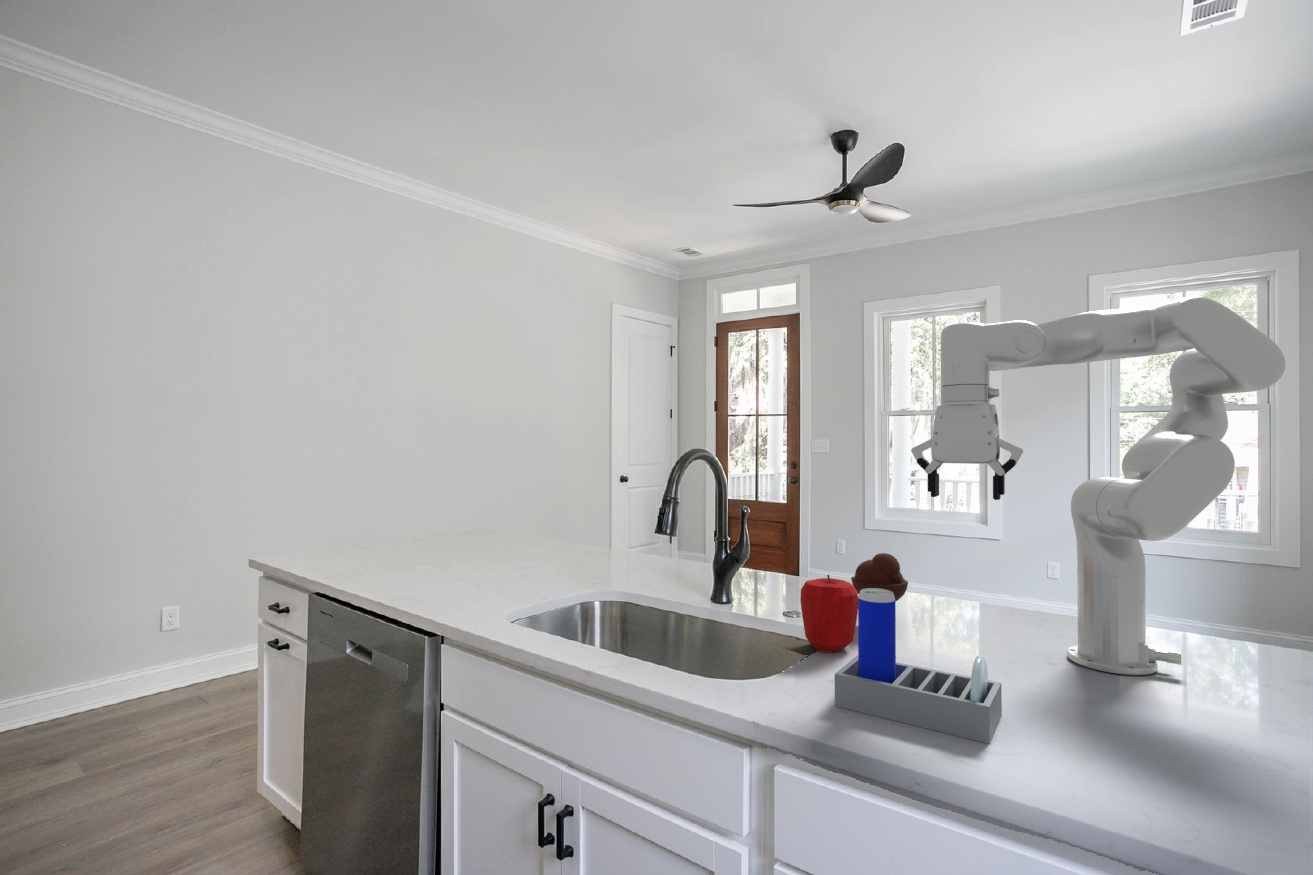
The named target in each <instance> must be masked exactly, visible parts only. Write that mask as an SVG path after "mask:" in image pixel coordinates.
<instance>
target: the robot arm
mask: <svg viewBox="0 0 1313 875" xmlns="http://www.w3.org/2000/svg"><path fill="white" fill-rule="evenodd" d="M1183 351H1185V352H1183ZM1176 352H1183V353H1181V354H1179V355H1178V356H1177V357H1176V359H1175V360H1174V361H1172V364H1171V366H1170V368H1169V369H1170V370H1169V382H1170V387H1171V391H1172V392H1171V393H1172V402H1171V403H1172V404H1171V407H1170V409H1169V411H1168V412H1167V413H1166V414H1165V415H1164V416H1163V417H1162V418H1161V420H1159V421H1158V422H1157V423H1156V424H1155V425H1154V426H1153V427H1152V428H1151V429H1150V430H1149V431H1147V432H1146V433H1145V434H1144V435H1143V436H1142V437H1141V438H1140V439H1139V440H1138V441H1136V443H1134V444H1133V445H1132V446H1131V447H1130V448H1129V449H1128V450H1127V452H1126V453H1125V455H1124V456H1123V458H1122V462H1121V470H1122V474H1123V475H1124V478H1123V477H1111V476H1101V477H1099V476H1098V477H1095V478H1091V479H1087V480H1086V481H1084V482H1082V483H1081V484H1079V485H1078V486H1077V487H1076V489H1075V490H1074V492H1073V494H1072V495H1071V501H1070V513H1071V514H1070V515H1071V518H1072V524H1073V528H1074V533H1075V539H1076V540H1075V541H1076V555H1077V556H1076V558H1077V563H1076V564H1077V568H1076V569H1077V573H1076V575H1077V576H1076V578H1077V580H1076V581H1077V582H1076V583H1077V585H1076V586H1077V587H1076V588H1077V592H1076V593H1077V603H1076V604H1077V644H1075V645H1072V646H1070V647H1068V648H1067V652H1066V655H1067V658H1068V659H1069V660H1070V661H1072V662H1074V663H1076V664H1078V665H1081V666H1083V667H1086V668H1090V669H1092V670H1097V671H1101V672H1105V673H1109V674H1110V673H1111V674H1117V675H1126V676H1146V675H1152V674H1155V673H1156V672H1157V671H1158V670H1159V669H1158V662H1157V661H1159V662H1166V663H1168V664H1174V665H1179V666H1182V653H1181V652H1180V651H1179V652H1178V651H1173V650H1171V648H1165V647H1157V646H1153V644H1149V639H1148V637H1147V636H1146V635H1147V634H1146V630H1147V629H1146V628H1147V624H1146V621H1147V620H1146V559H1145V554H1144V550H1143V547H1142V545H1141V542H1140V540H1141V541H1148V542H1159V541H1164V540H1166V539H1167V540H1168V539H1169V538H1171V537H1174V536H1175V535H1176V534H1178V533H1180V531H1182V530H1183V529H1184V528H1185V527H1186V526H1187V525H1189V524H1190V523H1191V522H1192V521H1193V520H1194V519H1196V518H1197V516H1199V515H1200V514H1201V513H1202V512H1203V511H1204V510H1205V509H1206V508H1207V507H1208V506H1209V505H1210V504H1211V503H1212V502H1213V501H1215V500H1216V499H1217V498H1218V497H1219V496H1220V495H1221V494H1223V492H1224V491H1225V490H1226V488H1228V486H1229V484H1230V482H1231V480H1232V478H1233V476H1234V474H1235V468H1236V466H1235V463H1236V462H1235V458H1234V454H1233V452H1232V450H1231V449H1230V447H1229V446H1228V445H1227V444H1226V443H1225V442H1223V441H1222V439H1223V438H1224V437H1225V435H1226V434H1227V431H1228V428H1229V419H1228V413H1227V410H1226V409H1227V408H1226V405H1225V400H1224V396H1223V395H1227V394H1238V393H1239V394H1240V393H1251V392H1258V391H1262V390H1265V389H1268V388H1270V387H1273V386H1274V385H1275V384H1276V383H1278V381H1279V380H1281V378H1282V377H1283V375H1284V374H1285V370H1286V358H1285V355H1284V353H1283V351H1282V349H1281V348H1280V346H1279V345H1278V343H1276V342H1275V341H1274V340H1272V338H1270V337H1269V336H1267V335H1266V334H1265V333H1263V332H1262V331H1261V330H1259V329H1258V328H1257V327H1256V326H1254V325H1253V324H1252V323H1250V322H1249V321H1247V320H1246V319H1245V318H1243V317H1242V316H1240V315H1239V314H1237V313H1236V312H1235V311H1233V310H1231V309H1230V308H1229V307H1227V306H1225V305H1224V304H1222V303H1220V302H1218V301H1217V300H1214V299H1212V298H1209V297H1206V296H1202V295H1190V296H1185V297H1182V298H1178V299H1175V300H1174V299H1173V300H1171V301H1167V302H1164V303H1163V302H1162V303H1159V304H1153V305H1152V304H1151V305H1145V306H1144V305H1143V306H1134V307H1125V308H1118V309H1116V308H1115V309H1104V310H1095V311H1088V312H1082V313H1077V314H1073V315H1069V316H1066V317H1063V318H1059V319H1055V320H1052V321H1048V322H1043V323H1038V324H1036V323H1033V322H1031V321H1028V320H1010V321H1003V322H996V323H980V322H960V323H953V324H949V325H947V326H945V327H944V328H943V329H942V331H941V333H940V405H937V406H936V408H935V413H934V418H933V428H932V429H933V430H932V435H931V436H932V438H930V439H928V440H926V441H923V442H922V443H920V444H918V445H916V446H913V447H911V449H910V451H911V454H912V455H913V457H914V459H915V460H916V463H917V465H919V467H921V468H922V470H924V472H925V474H927V492H928V493H930V497H932V498H937V497H938V496H940V473H938V470H939V469H940V467H941V466H942V465H943V464H969V465H970V464H971V465H973V464H975V465H976V464H977V465H978V464H979V465H981V464H982V465H983V464H984V465H985V464H986V465H988V466H989V467H990V468H991V469H992V470H993V471H994V476H992V500H994V501H999V500H1000V499H1001V498H1002V497H1001V496H1005V492H1006V491H1005V490H1006V488H1005V475H1007V473H1009V472H1010V471H1011V470H1012V469H1013V468H1014V467H1016V465H1017V464H1018V461H1020V458H1021V457H1022V455H1024V454H1023V453H1024V452H1025V451H1024V449H1023V448H1022V447H1020V446H1017V445H1015V444H1013V443H1012V442H1009V441H1007V440H1004V439H1003V438H1000V427H999V425H1000V424H999V419H998V412H997V408H996V405H995V404H994V403H993V404H992V403H991V400H993V399H994V398H1000V388H994V387H993V388H992V387H991V385H990V372H998V371H1006V370H1016V369H1027V368H1033V367H1043V366H1045V367H1046V366H1054V365H1057V366H1058V365H1075V364H1076V365H1077V364H1084V363H1093V362H1101V361H1102V362H1103V361H1111V360H1119V359H1120V360H1121V359H1130V358H1140V357H1151V356H1158V355H1164V354H1169V353H1171V354H1172V353H1176ZM929 449H931V457H932V461H931V462H929V461H928V460H927V459H926V458H925V457H924V455H923V452H924V451H926V450H929ZM1001 449H1004V450H1005V451H1008V452H1009V453H1010V457H1009V458H1008V460H1007V461H1006V462H1005V463H1004V464H1002V463H1001V462H1000V461H999V460H1000V457H1001Z"/></svg>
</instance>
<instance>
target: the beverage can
mask: <svg viewBox="0 0 1313 875" xmlns="http://www.w3.org/2000/svg"><path fill="white" fill-rule="evenodd" d="M896 609H897V608H896V602H895V597H894V594H893V592H892V591H889V590H886V589H879V588H866V589H862V590H860V593H859V594H858V614H857V623H858V624H857V629H858V630H857V633H858V634H857V635H858V636H857V637H858V639H857V640H858V643H857V644H858V645H857V646H858V648H857V650H858V651H857V652H858V654H857V655H858V677H861V678H866V679H871V680H876V681H880V682H885V683H890V684H892V683H893V682H894V681H895V680H896V663H897V662H896V661H897V658H896V657H897V652H896V651H897V649H896V648H897V646H896V645H897V644H896V641H897V639H896V636H897V633H896V632H897V631H896V628H897V627H896V626H897V625H896V624H897V623H896V622H897V621H896V620H897V619H896V615H897V614H896Z"/></svg>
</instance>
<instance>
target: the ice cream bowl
mask: <svg viewBox="0 0 1313 875" xmlns="http://www.w3.org/2000/svg"><path fill="white" fill-rule="evenodd" d="M900 564H901V563H899V560H898V559H897V558H896V557H895V556H894V555H892V554H891V553H887V552H883V553H881V552H880V553H877V554H875V555H874V556H873V557H872V559H866V560H865V561H863V562H860V564H858V566H857V567H856V569H855V573H854V575H853V576H851V577H850V579H851V584H852V585H853V586H854V588H855V589H856V591H857V592H858V595H859V593H860V590H862V589H866V588H879V589H886V590H889V591H892V592H893V594H894V597H895V603H896V602H897V601H899V600H900V599H902V598H903V596H904V595H905V594H906V591H907V589H908V584H909V581H907V579H905V578H904V576H903V574H902V572H901V566H900Z"/></svg>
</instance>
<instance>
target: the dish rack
mask: <svg viewBox="0 0 1313 875" xmlns="http://www.w3.org/2000/svg"><path fill="white" fill-rule="evenodd" d="M971 677H972V676H968V675H964V674H958V673H953V672H949V671H943V670H937V669H932V668H928V667H922V666H916V665H911V664H906V663H903V662H902V663H900V662H896V680H895V681H894V682H893V683H892V684H890V683H885V682H880V681H876V680H871V679H866V678H861V677H858V654H857V655H856V656H855V657H853V658H852V659H851V660H850V661H848V662H847V663H846V664H845V665H844V666H843V667H841V668H840V669H838V671H837V672H835V673H834V707H836V708H837V707H838V708H841V709H845V710H850V711H855V712H858V713H862V714H866V715H871V716H875V717H879V718H882V719H887V720H891V721H894V722H899V723H903V724H907V725H910V726H915V727H919V728H923V729H924V728H925V729H928V730H932V731H936V732H940V733H943V734H944V733H945V734H949V735H952V736H956V737H961V738H964V739H969V740H974V741H978V742H981V743H985V744H989V745H990V744H991V741H992V739H993V738H994V737H993V736H994V734H995V732H996V730H997V727H998V725H999V723H1000V721H1001V718H1002V716H1003V714H1002V710H1003V709H1002V702H1003V701H1002V696H1003V695H1002V682H999V681H994V680H989V679H988V690H987V698H986V700H985V702H984V703H979V702H975V701H971V698H970V695H971Z"/></svg>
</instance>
